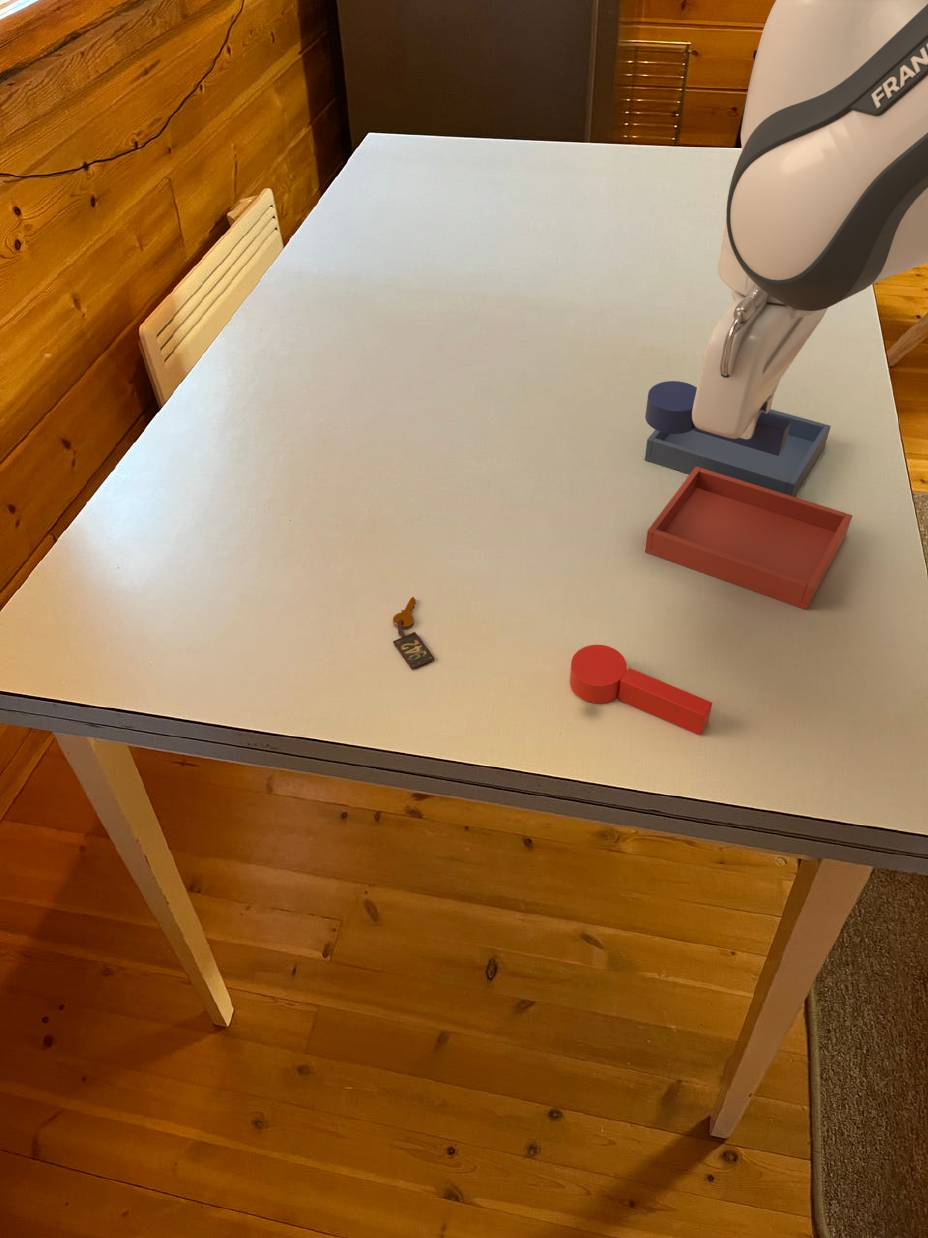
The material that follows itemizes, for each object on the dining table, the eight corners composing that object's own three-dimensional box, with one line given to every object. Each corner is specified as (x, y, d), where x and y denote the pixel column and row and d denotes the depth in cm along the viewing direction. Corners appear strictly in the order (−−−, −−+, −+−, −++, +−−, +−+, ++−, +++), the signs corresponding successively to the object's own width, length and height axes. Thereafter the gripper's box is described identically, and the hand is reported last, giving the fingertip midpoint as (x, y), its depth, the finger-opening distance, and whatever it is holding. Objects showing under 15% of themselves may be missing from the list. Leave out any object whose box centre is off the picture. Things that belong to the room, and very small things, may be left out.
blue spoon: (790, 436, 74) (797, 411, 72) (772, 466, 72) (778, 440, 70) (658, 398, 78) (661, 373, 77) (636, 424, 76) (639, 399, 74)
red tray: (845, 536, 86) (852, 514, 84) (806, 610, 80) (813, 588, 78) (692, 487, 92) (695, 465, 91) (644, 551, 86) (647, 530, 84)
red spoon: (715, 709, 73) (720, 689, 71) (693, 748, 70) (697, 729, 69) (585, 655, 77) (587, 635, 76) (560, 690, 75) (561, 670, 73)
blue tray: (825, 446, 96) (831, 425, 94) (788, 505, 90) (794, 484, 88) (687, 407, 102) (690, 386, 100) (644, 460, 96) (646, 439, 94)
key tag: (436, 664, 77) (435, 659, 77) (401, 671, 77) (400, 667, 76) (415, 598, 83) (414, 593, 82) (382, 604, 82) (381, 600, 82)
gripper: (783, 330, 56) (741, 509, 66) (875, 205, 67) (827, 373, 77) (684, 306, 58) (658, 482, 68) (789, 189, 70) (754, 354, 80)
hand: (749, 423), depth 73 cm, fingers closed on blue spoon, 1 cm apart
